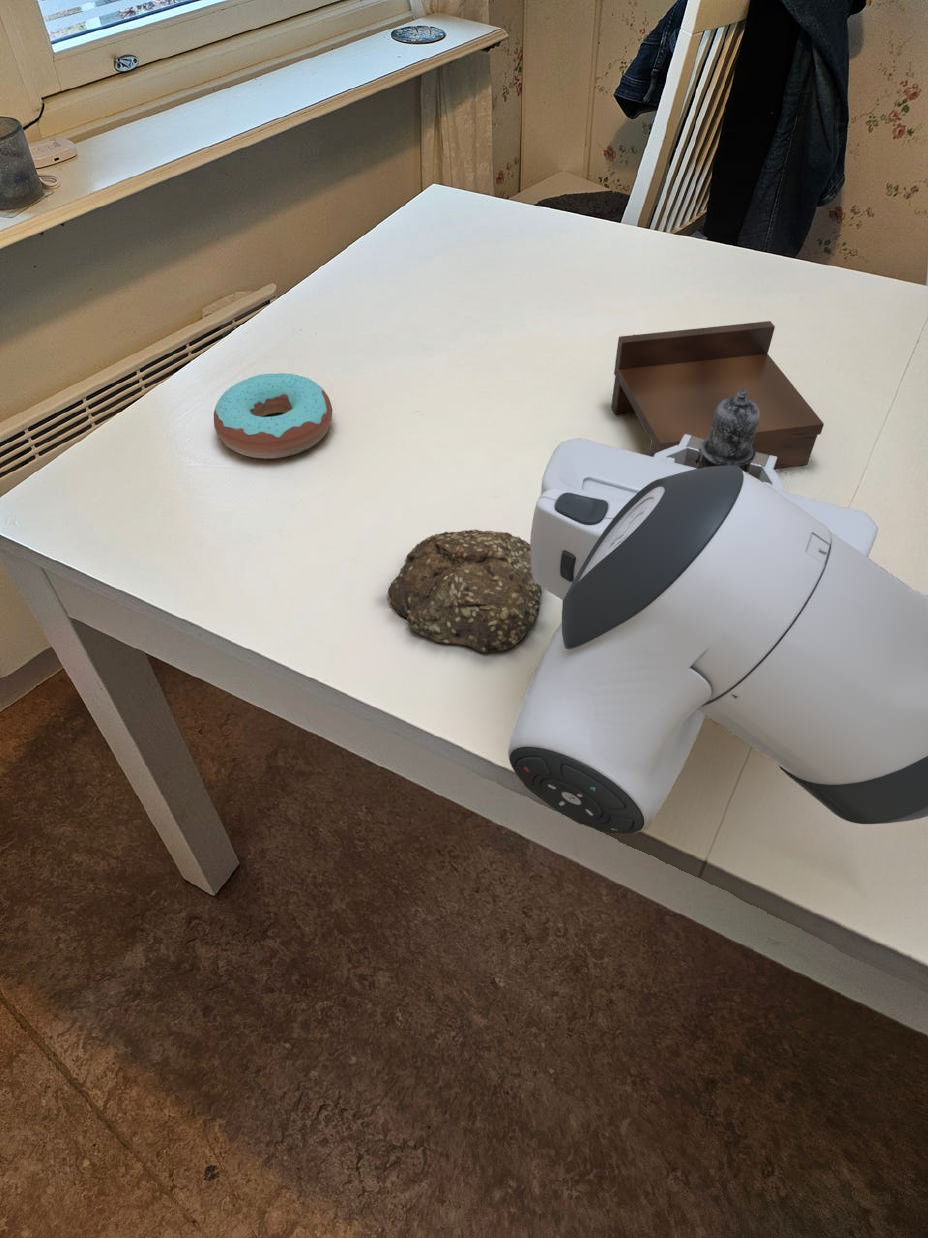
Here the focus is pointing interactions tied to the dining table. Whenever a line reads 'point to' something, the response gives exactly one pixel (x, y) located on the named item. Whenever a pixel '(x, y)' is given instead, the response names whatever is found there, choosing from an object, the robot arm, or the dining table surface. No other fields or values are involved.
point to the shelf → (711, 388)
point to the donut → (276, 434)
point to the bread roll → (468, 589)
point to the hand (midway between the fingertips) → (728, 453)
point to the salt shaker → (732, 433)
